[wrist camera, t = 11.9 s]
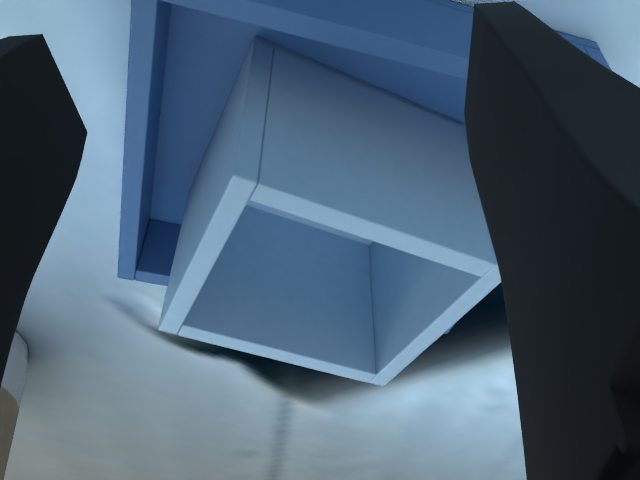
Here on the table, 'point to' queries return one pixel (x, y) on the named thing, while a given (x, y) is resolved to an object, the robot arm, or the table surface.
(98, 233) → the table surface
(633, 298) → the robot arm
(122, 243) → the steel blue bin
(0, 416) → the coffee cup
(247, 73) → the pale blue bin
